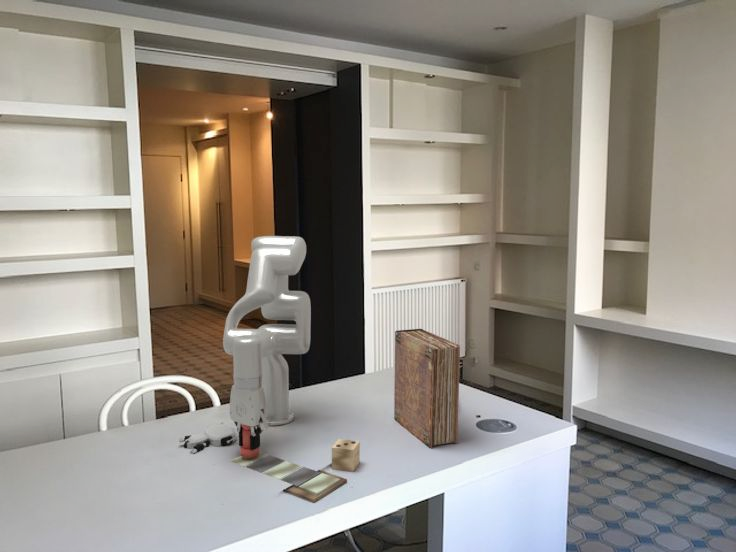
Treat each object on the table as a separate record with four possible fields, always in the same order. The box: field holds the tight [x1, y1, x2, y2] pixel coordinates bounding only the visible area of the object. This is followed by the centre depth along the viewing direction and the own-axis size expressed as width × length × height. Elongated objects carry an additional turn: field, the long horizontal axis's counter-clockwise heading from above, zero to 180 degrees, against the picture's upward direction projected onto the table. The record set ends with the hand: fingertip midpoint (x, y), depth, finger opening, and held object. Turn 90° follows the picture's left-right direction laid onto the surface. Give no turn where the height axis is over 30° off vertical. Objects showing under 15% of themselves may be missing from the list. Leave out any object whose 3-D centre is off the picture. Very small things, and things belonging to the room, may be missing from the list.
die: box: [331, 438, 361, 473], centre depth 160 cm, size 6×6×6 cm
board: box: [229, 451, 348, 504], centre depth 154 cm, size 32×13×1 cm, turn 55°
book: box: [393, 328, 461, 449], centre depth 183 cm, size 25×9×30 cm, turn 22°
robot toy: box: [178, 421, 239, 454], centre depth 172 cm, size 12×4×15 cm
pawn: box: [239, 424, 260, 458], centre depth 161 cm, size 5×5×11 cm
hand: (249, 445), depth 161 cm, fingers closed on pawn, 3 cm apart
